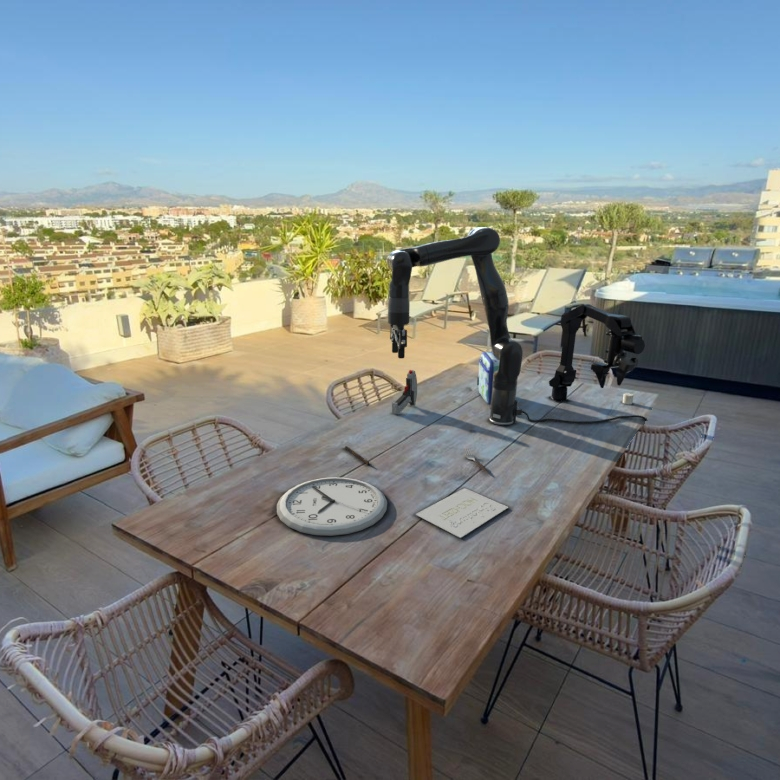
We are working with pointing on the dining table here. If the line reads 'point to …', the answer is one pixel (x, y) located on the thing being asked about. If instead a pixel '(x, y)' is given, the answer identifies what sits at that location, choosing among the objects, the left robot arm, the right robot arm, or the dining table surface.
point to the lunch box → (487, 375)
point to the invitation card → (461, 512)
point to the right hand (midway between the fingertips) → (610, 386)
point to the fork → (474, 459)
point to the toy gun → (407, 394)
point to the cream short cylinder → (628, 398)
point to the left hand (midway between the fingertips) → (398, 355)
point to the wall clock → (331, 506)
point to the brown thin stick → (357, 455)
